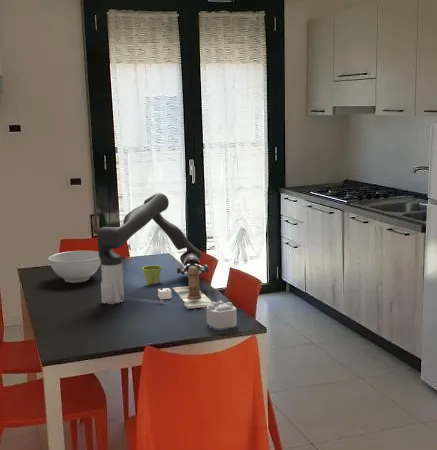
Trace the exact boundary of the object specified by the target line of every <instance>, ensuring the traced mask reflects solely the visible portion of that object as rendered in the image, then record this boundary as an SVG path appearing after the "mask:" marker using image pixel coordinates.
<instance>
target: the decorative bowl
mask: <svg viewBox="0 0 437 450" xmlns="http://www.w3.org/2000/svg"><path fill="white" fill-rule="evenodd" d="M47 259H48V264H49V265H50V267H51V268H52V270H53V272H54V273H55V274H56V275H57V276H58V277H60V278H62V279H64V282H66V283H73V284H75V283H83V282H87V281H88V280H90V279H91V278H90V277H91V276H93V275H94V274H95V273H96V272H97V271H98V269H99V268H100V267H101V261H100V258H99V252H98V251H97V250H96V251H95V250H73V251H72V250H70V251H64V252H58V253H54V254H52V255H50V256H49V257H47Z"/></svg>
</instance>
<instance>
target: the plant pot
mask: <svg viewBox="0 0 437 450" xmlns="http://www.w3.org/2000/svg"><path fill="white" fill-rule="evenodd" d="M141 268H142V271H143V275H144V279H145V284H146V286H150V285H155V284H158V283H160V278H161V271H162V266H161V265H146V266H143V267H141Z"/></svg>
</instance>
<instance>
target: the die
mask: <svg viewBox="0 0 437 450" xmlns="http://www.w3.org/2000/svg"><path fill="white" fill-rule="evenodd" d="M157 297H158V301H160V302H164V301H166V300H169V299H172V289H170V287H164V288H157ZM160 302H159V303H160ZM164 303H165V302H164Z"/></svg>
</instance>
